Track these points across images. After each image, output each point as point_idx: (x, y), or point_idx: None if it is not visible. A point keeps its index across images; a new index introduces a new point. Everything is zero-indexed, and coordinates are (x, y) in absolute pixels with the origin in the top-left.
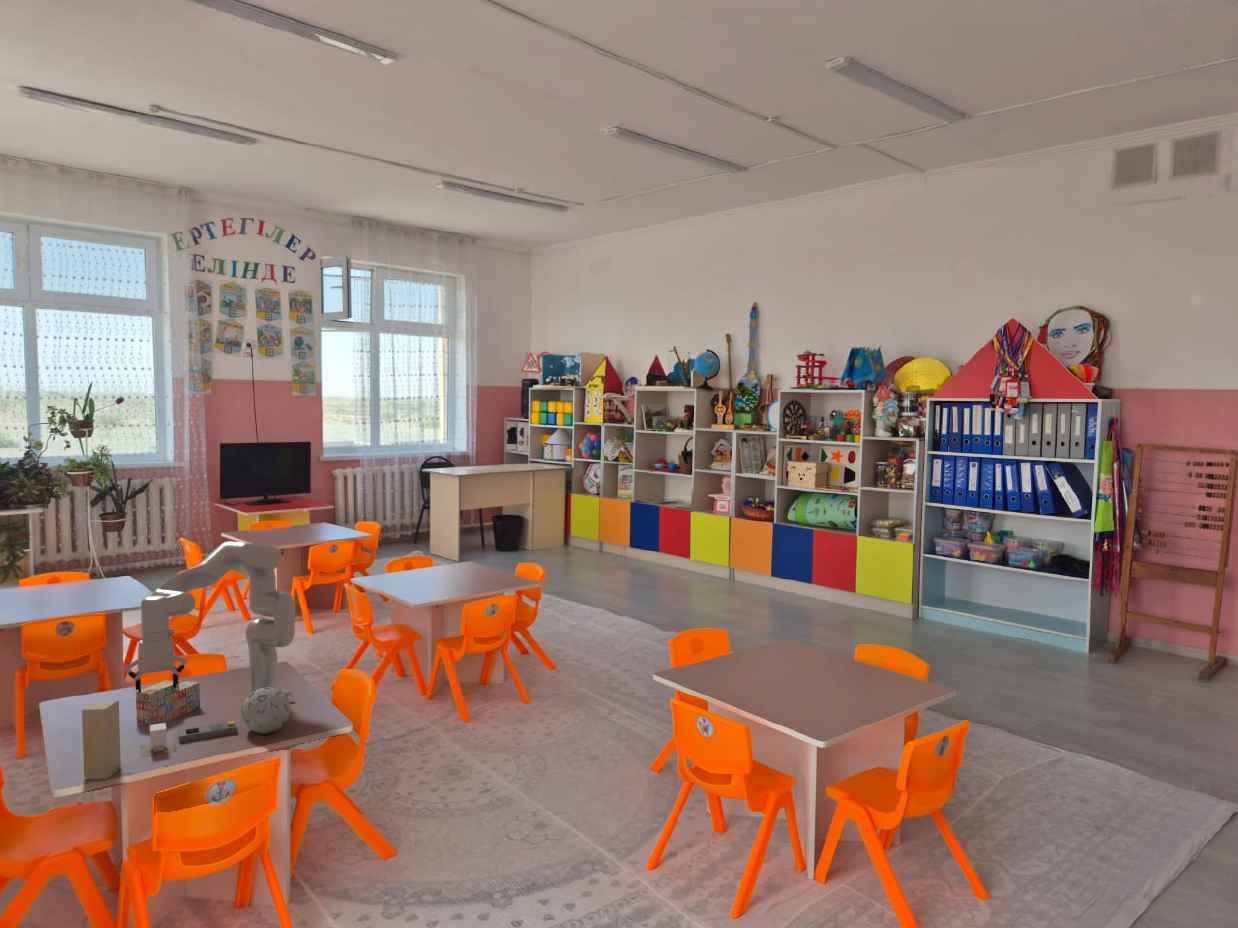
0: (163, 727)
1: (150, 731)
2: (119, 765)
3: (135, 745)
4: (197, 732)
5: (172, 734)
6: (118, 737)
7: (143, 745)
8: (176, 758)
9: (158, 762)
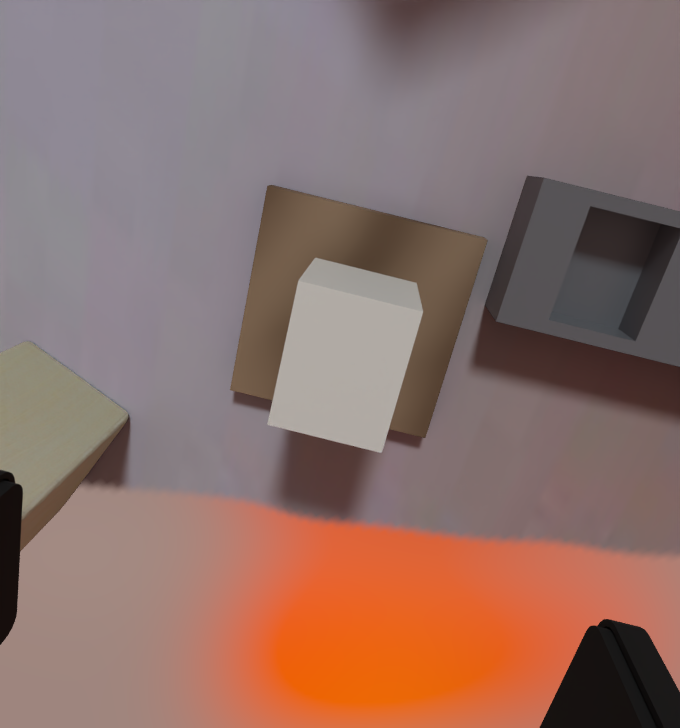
0: (372, 412)
1: (270, 423)
2: (115, 434)
3: (262, 87)
4: (657, 223)
5: (535, 33)
6: None
7: (289, 193)
8: (400, 485)
9: (309, 473)
